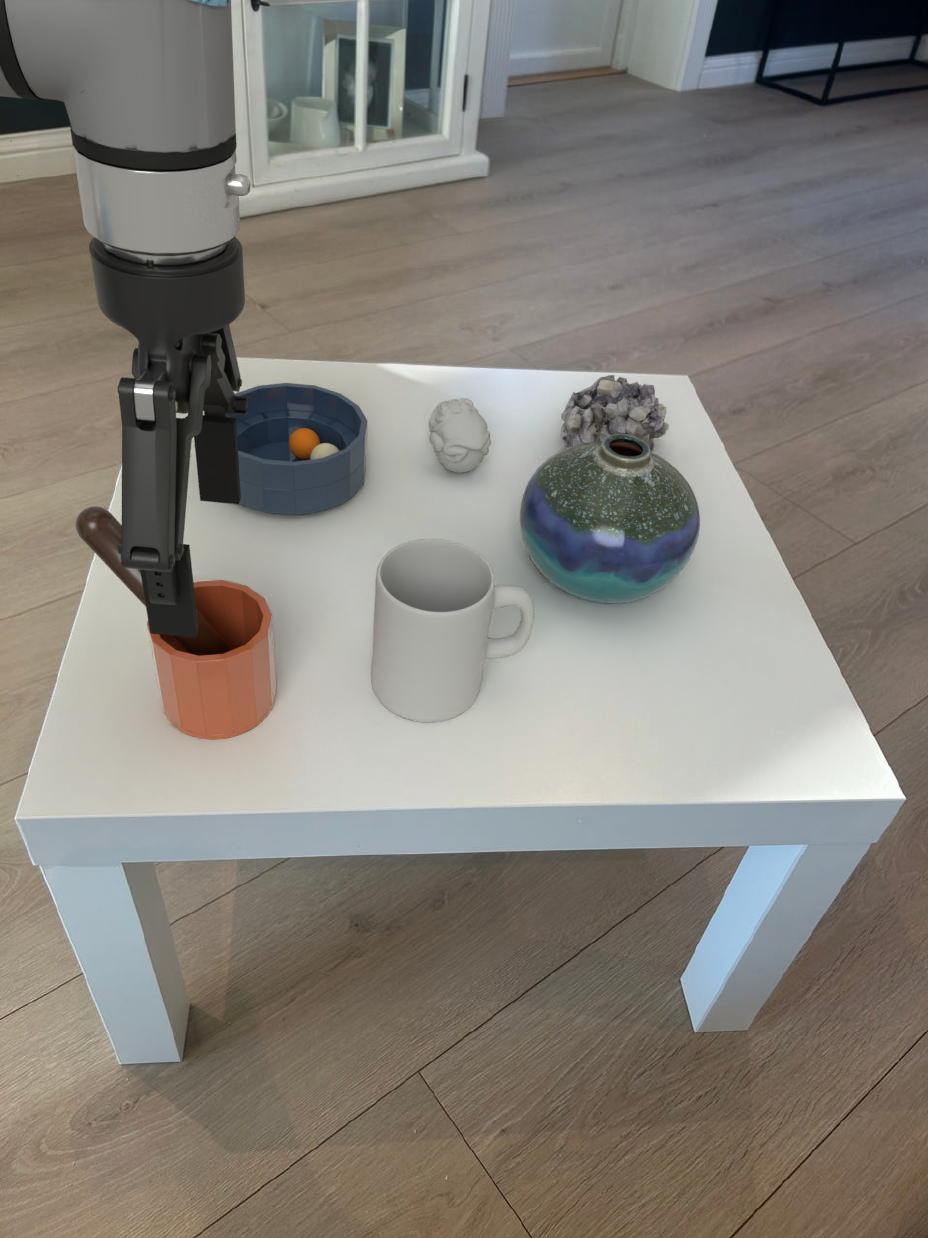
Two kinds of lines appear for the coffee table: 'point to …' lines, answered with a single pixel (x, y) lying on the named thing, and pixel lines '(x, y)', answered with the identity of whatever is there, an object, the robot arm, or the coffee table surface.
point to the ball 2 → (323, 451)
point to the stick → (138, 574)
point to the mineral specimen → (613, 412)
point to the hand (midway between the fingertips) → (199, 560)
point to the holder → (220, 666)
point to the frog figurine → (458, 435)
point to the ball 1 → (303, 442)
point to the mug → (438, 628)
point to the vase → (609, 520)
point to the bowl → (276, 471)
